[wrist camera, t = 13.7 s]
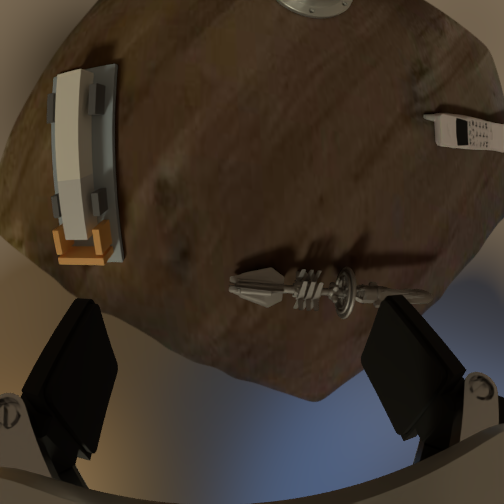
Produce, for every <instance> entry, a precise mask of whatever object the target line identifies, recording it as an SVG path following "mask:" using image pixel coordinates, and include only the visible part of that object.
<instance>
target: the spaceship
mask: <svg viewBox="0 0 504 504" xmlns="http://www.w3.org/2000/svg"><path fill="white" fill-rule="evenodd" d="M313 272H314V270H310V271H309V273H308V274H307V272H306V269H302V271H301V273H300V272H298V271H297V272H296V280H295V281H296V283H293V285H283V284H284V276H282V275H281V274H280V273H278V272H277V271H276V270H274V269H273V268H271V267H270V268H266V269H261V270H256V271H251V272H246V273H242V274H241V275H237V276H232V277H230V281H231V282H230V283H233V284H235V286H234V285H229V286H232V287H229V292H232V293H234V294H236V295H239V296H240V297H241V298H244V299H246V300H249V301H251V302H254V303H257V304H259V305H262V306H265V307H267V308H268V307H270V306H272V305H274V304H276V303H278V302H280V301H281V300H282V295H283V293H291V294H293V297H298V298H296V299H297V301H296V303H295V306H294V308H295V309H297V308H298V306H299V310H303V309H304V308H305V307H306V308H307V310H311V309H312V308H313V306H314V310H315V311H318V310H319V307H318V301H319V298H320V296H321V295H326V296H327V295H329V297H328V298H329V299H330V300H332V302H334V303H335V308H336V312H337V314H338V316H339V317H340V318H342V319H345V318H347V317H348V316H349V315H350V314H351V312H352V310H353V307H354V304H355V300H357V301H358V302H361V303H363V304H364V303H373V304H374V306H375V307H379V306H380V303H381V302H382V301H383V300H384V299H385V297H386V296H389V295H403V296H404V297H405V298H406V299H407V300H408V301H409V302H410V304H426V303H429V302H430V301H431V300H432V299H433V296H432V295H431V294H430V293H429V292H427V291H424V290H420V289H404V290H395V289H390V288H387V287H383V286H377V283H376V282H370V283H369V286H367V285H364V284H362V285H357V286H356V279H355V275H354V272H353V270H352V269H351V268H349V267H344V268H343V269H342V270H341V271H340V273H339V275H338V278H337V281H336V284H335V283H334V282H331V283H330V286H329V288H322V287H323V283H319V284H316V283H317V282H316V281H317V279H318V277H319V275H320V273H321V271H317V273H316V274H315V275H314V273H313ZM347 272H348V273H347ZM349 274H350V275H349ZM303 278H304V281H303V280H302V279H303ZM310 278H311V281H309V280H310ZM347 280H348V281H347ZM345 284H347V287H346V286H345ZM347 298H348V299H347ZM303 300H305V301H304V303H303ZM344 300H345V301H344ZM311 301H312V302H311ZM345 305H346V306H345Z"/></svg>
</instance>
